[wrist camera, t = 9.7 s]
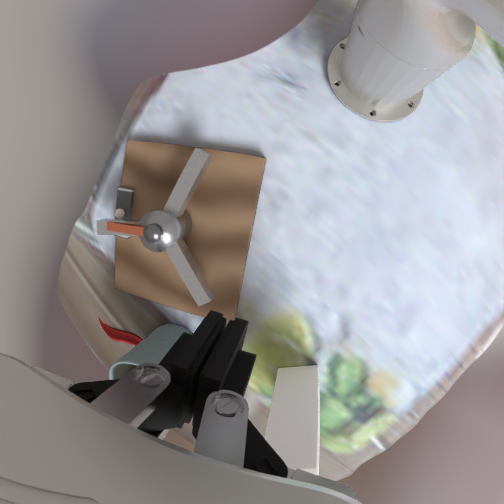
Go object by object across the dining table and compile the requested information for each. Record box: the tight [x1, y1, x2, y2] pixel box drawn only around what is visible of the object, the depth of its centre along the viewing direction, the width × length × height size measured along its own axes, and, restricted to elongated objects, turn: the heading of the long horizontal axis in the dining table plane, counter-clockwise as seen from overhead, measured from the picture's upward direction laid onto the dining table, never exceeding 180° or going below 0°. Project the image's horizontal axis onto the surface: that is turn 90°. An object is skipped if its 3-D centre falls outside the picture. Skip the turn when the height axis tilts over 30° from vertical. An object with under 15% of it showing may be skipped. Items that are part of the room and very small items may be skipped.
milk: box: [264, 365, 320, 475], centre depth 31 cm, size 6×6×22 cm
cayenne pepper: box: [99, 318, 142, 346], centre depth 45 cm, size 12×5×2 cm, turn 56°
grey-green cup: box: [109, 324, 193, 380], centre depth 38 cm, size 10×10×12 cm
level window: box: [114, 186, 135, 239], centre depth 37 cm, size 7×2×1 cm, turn 169°
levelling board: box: [115, 140, 266, 324], centre depth 38 cm, size 22×19×2 cm
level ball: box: [115, 208, 125, 219], centre depth 36 cm, size 1×1×1 cm
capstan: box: [97, 148, 215, 307], centre depth 33 cm, size 16×18×6 cm
